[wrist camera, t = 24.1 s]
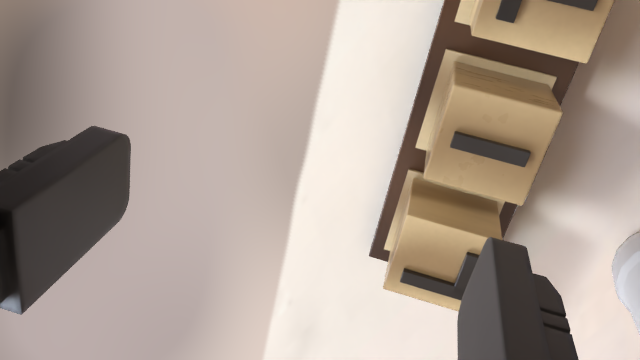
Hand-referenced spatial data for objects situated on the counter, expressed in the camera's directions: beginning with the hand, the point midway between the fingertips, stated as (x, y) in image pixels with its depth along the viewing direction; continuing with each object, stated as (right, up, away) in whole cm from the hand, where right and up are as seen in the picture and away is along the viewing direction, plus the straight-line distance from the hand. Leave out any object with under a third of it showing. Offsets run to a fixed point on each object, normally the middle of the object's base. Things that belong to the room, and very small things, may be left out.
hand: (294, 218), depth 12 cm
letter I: (+9, +4, +15) cm, 18 cm away
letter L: (+7, -2, +18) cm, 19 cm away
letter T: (+10, +10, +12) cm, 18 cm away
